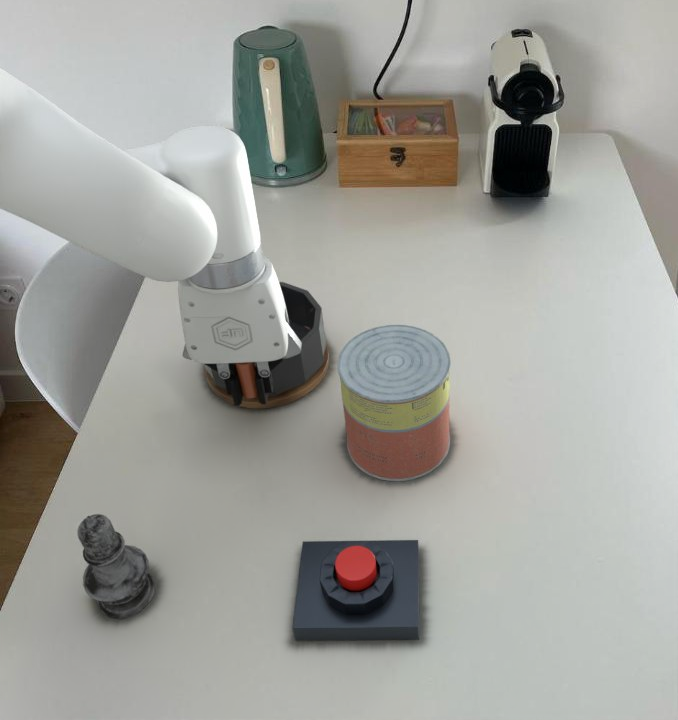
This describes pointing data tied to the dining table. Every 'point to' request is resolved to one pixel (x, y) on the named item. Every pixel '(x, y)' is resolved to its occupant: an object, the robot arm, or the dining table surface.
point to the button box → (358, 594)
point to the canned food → (396, 401)
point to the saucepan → (297, 367)
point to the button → (356, 568)
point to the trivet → (280, 398)
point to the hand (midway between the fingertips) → (252, 395)
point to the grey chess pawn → (114, 569)
